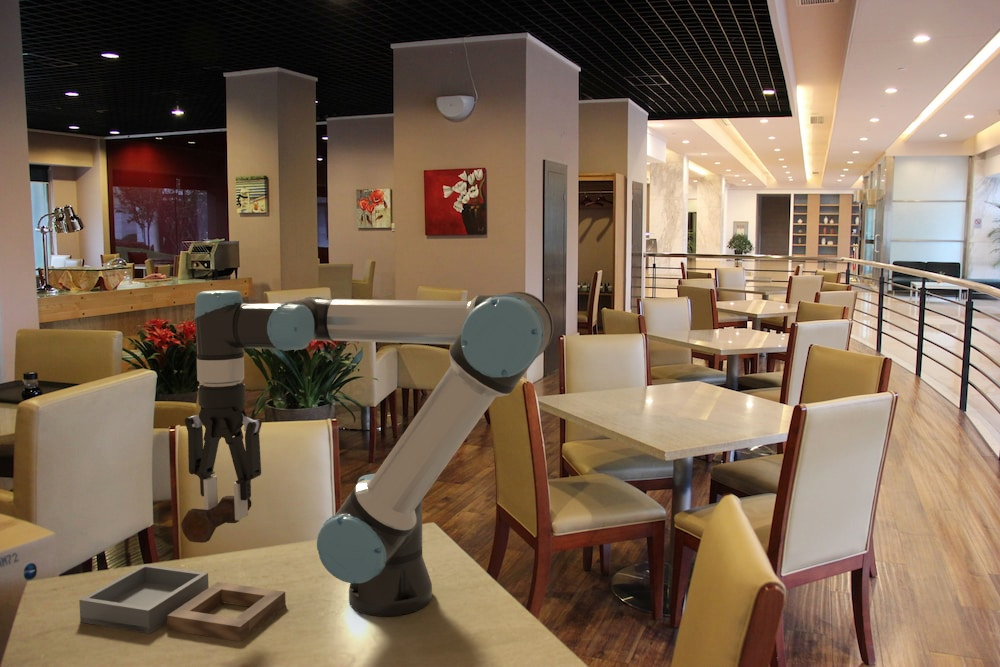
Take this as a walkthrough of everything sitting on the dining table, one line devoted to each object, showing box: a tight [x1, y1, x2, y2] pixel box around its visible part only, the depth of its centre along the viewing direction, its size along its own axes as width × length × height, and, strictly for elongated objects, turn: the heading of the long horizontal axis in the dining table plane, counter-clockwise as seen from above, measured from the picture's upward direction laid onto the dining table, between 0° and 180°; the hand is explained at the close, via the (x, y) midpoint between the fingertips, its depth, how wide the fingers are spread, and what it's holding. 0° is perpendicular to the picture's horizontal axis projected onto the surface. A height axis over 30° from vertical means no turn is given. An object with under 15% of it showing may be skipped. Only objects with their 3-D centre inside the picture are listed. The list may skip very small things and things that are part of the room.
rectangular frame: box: [166, 581, 287, 642], centre depth 141 cm, size 14×14×2 cm
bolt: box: [180, 495, 252, 544], centre depth 138 cm, size 6×5×15 cm
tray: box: [78, 563, 210, 634], centre depth 144 cm, size 14×16×4 cm
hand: (226, 515), depth 139 cm, fingers closed on bolt, 5 cm apart
